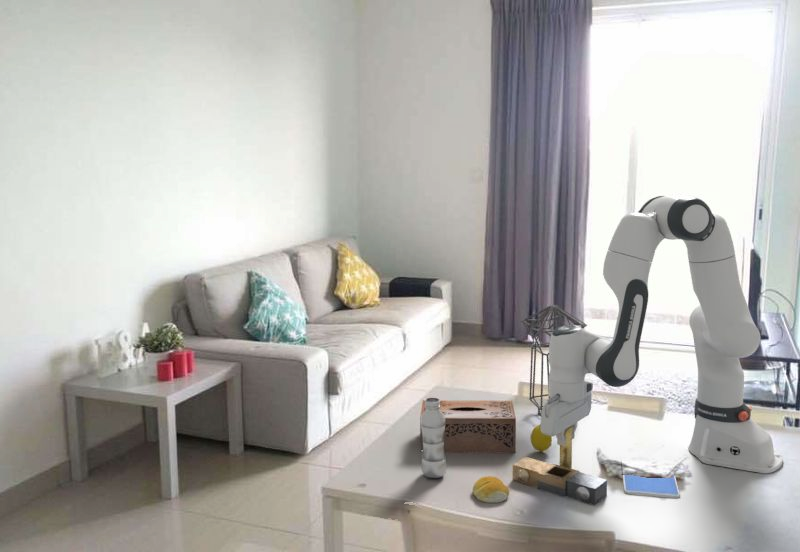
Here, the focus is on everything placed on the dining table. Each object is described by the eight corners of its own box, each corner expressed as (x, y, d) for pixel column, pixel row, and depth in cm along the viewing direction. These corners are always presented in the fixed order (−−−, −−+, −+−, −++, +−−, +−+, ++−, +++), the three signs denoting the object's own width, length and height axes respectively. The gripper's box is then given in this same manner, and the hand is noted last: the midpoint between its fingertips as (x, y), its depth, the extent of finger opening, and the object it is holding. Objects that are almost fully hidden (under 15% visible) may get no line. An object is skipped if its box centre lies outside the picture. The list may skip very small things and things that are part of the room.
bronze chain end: (579, 486, 177) (579, 470, 176) (565, 497, 172) (565, 481, 171) (526, 470, 186) (526, 455, 186) (511, 480, 181) (511, 465, 180)
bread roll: (499, 485, 179) (499, 469, 179) (513, 501, 171) (513, 485, 170) (467, 489, 178) (467, 473, 177) (479, 506, 169) (479, 489, 168)
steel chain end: (607, 494, 172) (608, 478, 172) (593, 506, 167) (594, 489, 166) (552, 478, 182) (552, 463, 181) (537, 488, 176) (537, 473, 176)
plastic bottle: (426, 483, 181) (424, 405, 178) (418, 472, 188) (416, 397, 184) (450, 479, 183) (449, 402, 180) (441, 468, 189) (440, 394, 186)
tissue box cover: (420, 452, 200) (420, 418, 199) (423, 433, 214) (422, 400, 213) (515, 453, 198) (515, 418, 196) (512, 433, 212) (512, 400, 211)
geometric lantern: (590, 422, 219) (589, 308, 212) (541, 429, 215) (539, 313, 209) (566, 404, 234) (565, 297, 228) (520, 410, 231) (518, 302, 224)
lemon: (551, 457, 194) (551, 428, 193) (530, 455, 196) (530, 427, 194) (551, 448, 200) (551, 421, 198) (531, 447, 201) (531, 420, 200)
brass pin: (573, 467, 188) (574, 426, 186) (568, 471, 185) (568, 430, 184) (563, 464, 189) (563, 424, 188) (557, 468, 187) (557, 427, 185)
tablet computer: (620, 462, 191) (621, 457, 191) (671, 466, 188) (672, 461, 188) (624, 496, 173) (624, 490, 173) (680, 500, 170) (680, 495, 169)
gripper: (557, 403, 174) (556, 458, 176) (596, 381, 189) (595, 432, 192) (534, 398, 178) (534, 451, 181) (574, 377, 194) (573, 427, 196)
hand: (565, 441), depth 186 cm, fingers closed on brass pin, 3 cm apart
